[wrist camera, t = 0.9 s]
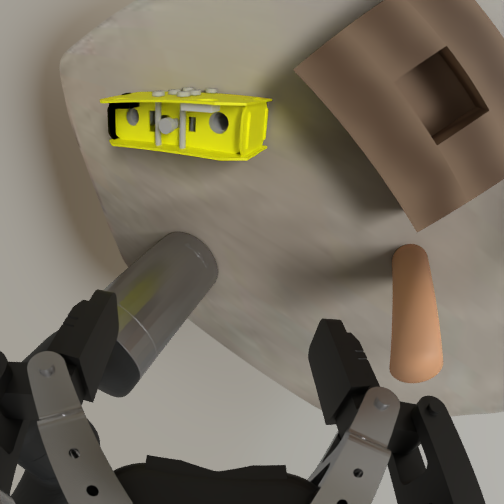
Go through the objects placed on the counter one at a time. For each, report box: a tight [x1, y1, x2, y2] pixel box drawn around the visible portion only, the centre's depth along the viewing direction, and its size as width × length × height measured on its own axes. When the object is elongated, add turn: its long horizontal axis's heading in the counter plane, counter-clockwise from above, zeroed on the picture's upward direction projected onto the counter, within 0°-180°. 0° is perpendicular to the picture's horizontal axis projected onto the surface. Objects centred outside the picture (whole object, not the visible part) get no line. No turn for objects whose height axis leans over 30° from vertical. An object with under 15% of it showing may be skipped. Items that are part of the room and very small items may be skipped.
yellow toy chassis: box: [100, 87, 272, 161], centre depth 26 cm, size 16×6×8 cm, turn 85°
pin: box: [390, 244, 443, 383], centre depth 23 cm, size 4×4×14 cm
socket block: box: [293, 0, 504, 232], centre depth 18 cm, size 16×16×5 cm
